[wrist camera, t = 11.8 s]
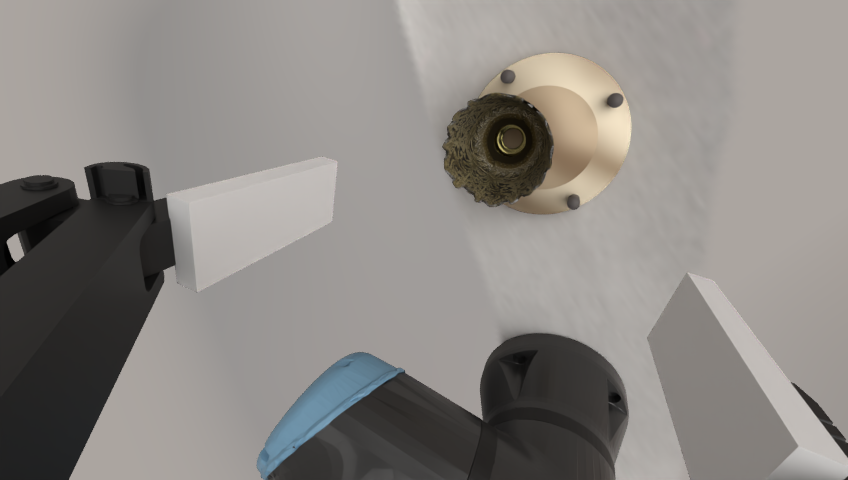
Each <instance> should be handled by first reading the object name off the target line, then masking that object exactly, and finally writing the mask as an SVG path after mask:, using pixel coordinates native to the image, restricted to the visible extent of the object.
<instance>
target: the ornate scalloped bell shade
mask: <svg viewBox="0 0 848 480" xmlns="http://www.w3.org/2000/svg"><path fill="white" fill-rule="evenodd" d="M452 120H453V121H452V122H451V124H450V125H449V126H448V127H447V131H448V134H447V135H448V136H449V138H448V139H447V140H445V142H444V144H443V146H442V147H443V149H444V150H446V156H445V158H444V169H445V171H446V172H447V174H448V175H449V176H450V177H451V178H452V179H453V182H452V183H453V185H454V186H455V187H456V188H458V189H460V188H465V189H466V190H467V192H468V193H469V194H472V195H474V197H475V199H474V200H475V201H476V202H478V203H480V202H484V203H485V204H486V205H487V206H489V207H497V206H499V205H501V204H503V203H506V202H509V204H511V205H512V204H514V203H516V202H517V201H518V200H519V198H520V197H521V196H523V197H525V196H529V195H531V194H532V193H533V191H534V190H536V188H538V187H539V186H540V185H541V184H542V183H543V181H544V179H545V176H546V173H547V171H548V170H550V169H551V166H552V156H553V151H554V139H553V136H552V133H551V130H550V127H549V125H548V122H547V120H546V118H545V116H544V115H543V114H542V113H541V112H540V111H539V110H538V109H537V108H535V107H534V106H533V105H532V104H530V103H529V102H527V101H526V100H524V98H522V97H519V96H516V95H510V94H505V93H490V94H487V95H484V96H483V97H481V98H479V99H473V100H471V101H469V102H468V106H467V108H464V109H461V110H459V111H458V112H457V113H456V114H455V115H454V116H453V118H452ZM510 129H517V130H519V131H520V132H521V134H522V137H523V139H522V143H521V144H520V145H519V146H518V147H517V148H508V147H507V146H506V145H505V144H504V142H503V136H504V134H505V132H506V131H508V130H510Z"/></svg>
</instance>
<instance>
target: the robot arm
mask: <svg viewBox="0 0 848 480" xmlns="http://www.w3.org/2000/svg"><path fill="white" fill-rule="evenodd" d="M337 165H338V162H337V161H335V160H332V159H329V158H326V157H323V156H322V157H317V158H313V159H309V160H305V161H301V162H297V163H293V164H289V165H284V166H280V167H276V168H272V169H268V170H264V171H260V172H256V173H251V174H247V175H244V176H239V177H235V178H231V179H227V180H223V181H219V182H215V183H210V184H206V185H202V186H198V187H194V188H190V189H186V190H182V191H177V192H173V193H169V194H167V195H166V196H167V198H163V199H159V200H156V201H154V200H153V193H152V185H151V178H150V172H149V169H148V168H147V167H145V166H143V165H139V164H134V163H127V162H105V163H98V164H93V165H89V166H87V167H85V168H84V169H85V173H86V178H87V182H88V187H89V191H90V196H91V199H90V200H84V199H79V198H78V197H77V193H76V189H75V184H74V182H73V181H71V180H69V179H64V178H59V177H51V176H48V175H43V176H41V175H40V176H39V175H37V176H30V177H26V178H21V179H17V180H13V181H9V182H6V183H4V184H0V480H69V478H70V476H71V474H72V472H73V470H74V467H75V466H76V463H77V461H78V459H79V457H80V455H81V453H82V451H83V449H84V447H85V444H86V443H87V441H88V439H89V437H90V434H91V432H92V430H93V428H94V426H95V424H96V422H97V420H98V418H99V416H100V414H101V411H102V409H103V407H104V405H105V403H106V401H107V399H108V397H109V395H110V393H111V391H112V389H113V387H114V385H115V383H116V381H117V378H118V376H119V374H120V372H121V370H122V368H123V366H124V364H125V362H126V360H127V358H128V356H129V354H130V352H131V349H132V347H133V345H134V343H135V341H136V339H137V337H138V335H139V333H140V331H141V329H142V327H143V325H144V323H145V320H146V318H147V316H148V314H149V312H150V310H151V308H152V306H153V304H154V302H155V299H156V297H157V295H158V293H159V291H160V289H161V287H162V285H163V283H164V272H163V270H165V269H167V268H169V267H171V266H174V265H175V270H176V279H177V283H178V284H180V285H182V286H184V287H186V288H188V289H191V290H193V291H195V292H199V291H201V290H203V289H205V288H207V287H209V286H211V285H212V284H214V283H216V282H218V281H220V280H222V279H224V278H226V277H228V276H230V275H232V274H233V273H235V272H237V271H239V270H241V269H243V268H245V267H247V266H249V265H251V264H253V263H255V262H256V261H258V260H260V259H262V258H264V257H266V256H268V255H270V254H272V253H274V252H276V251H277V250H279V249H281V248H283V247H285V246H287V245H289V244H291V243H293V242H294V241H297V240H298V239H300V238H302V237H304V236H306V235H308V234H310V233H312V232H314V231H316V230H317V229H319V228H321V227H323V226H325V225H327V224H329V223H331V222H332V218H333V207H334V196H335V185H336V175H337ZM16 233H18V237H19V240H20V243H21V246H22V249H23V252H24V255H25V256H24V257H23V258H21V259H20V260H19V261H17V262H15V261H14V260H13V259H12V257H11V254H10V251H9V248H8V245H7V240H8V239H9V238H10V237H12V236H13V235H14V234H16ZM647 339H648V342H649V345H650V349H651V352H652V355H653V358H654V362H655V365H656V368H657V372H658V375H659V378H660V381H661V385H662V388H663V391H664V395H665V398H666V401H667V404H668V408H669V411H670V414H671V418H672V421H673V424H674V428H675V431H676V434H677V437H678V441H679V444H680V447H681V451H682V454H683V457H684V460H685V464H686V467H687V470H688V474H689V477H690V480H848V443H846V442H845V440H846V439H845V438H844V436H843V435H842V434H841V432H840V431H839V430H838V429H837V427H835V426H833V425H832V424H833V422H832V421H831V420H830V419H829V417H828V416H827V415H826V414H825V412H824V411H823V410H822V408H821V407H820V406H819V405H818V403H816V402H815V401H814V400H813V399H812V398H811V397H809V396H808V395H807V394H806V393H805V392H804V391H803V390H801V389H800V388H799V387H798V386H797V385H795V384H794V383H792V382H790V381H789V380H788V379H787V377H786V376H785V374H784V373H783V372H782V371H781V369H780V368H779V367H778V365H777V364H776V363H775V361H774V360H773V359H772V357H771V356H770V355H769V353H768V352H767V351H766V349H765V348H764V347H763V345H762V344H761V343H760V341H759V340H758V339H757V337H756V336H755V335H754V333H753V332H752V331H751V329H750V328H749V327H748V325H747V324H746V323H745V322H744V320H743V319H742V318H741V316H740V315H739V314H738V312H737V311H736V310H735V308H734V307H733V306H732V304H731V303H730V302H729V300H728V299H727V298H726V296H725V295H724V294H723V292H722V291H721V290H720V288H719V287H718V286H717V284H716V283H715V282H714V281H713V280H710V279H707V278H704V277H701V276H698V275H695V274H691V273H688V272H687V273H686V275H685V276H684V278H683V280H682V281H681V283H680V284H679V286H678V288H677V289H676V291H675V293H674V294H673V296H672V298H671V299H670V301H669V303H668V304H667V306H666V308H665V309H664V311H663V312H662V314H661V316H660V317H659V319H658V321H657V322H656V324H655V326H654V327H653V329H652V331H651V332H650V334H649V336H648V337H647ZM480 395H481V405H482V415H483V420H481V419H480V418H478V417H476V416H475V415H473V414H472V413H470V412H468V411H467V410H465V409H463V408H462V407H460V406H458V405H457V404H455V403H453V402H452V401H450V400H449V399H447V398H445V397H443V396H442V395H440V394H439V393H437V392H435V391H434V390H432V389H431V388H428V387H427V386H426V385H424V384H422V383H421V382H419V381H417V380H416V379H414V378H412V377H411V376H409V375H407V374H406V373H405V370H403V369H402V368H395V367H394V366H392V365H390V364H388V363H386V362H384V361H382V360H381V359H379V358H377V357H375V356H373V355H371V354H368V353H364V352H358V353H353V354H350V355H348V356H346V357H344V358H342V359H340V360H339V361H337V362H336V363H335V364H333V365H332V366H331V367H330V368H328V369H327V370H326V371H325V372H324V373H323V374H322V375H321V376H319V378H317V379H316V380H315V381H314V382H313V383H312V384H311V385H310V386H309V387H308V389H306V391H305V392H304V393H303V394H302V395H301V396H300V397H299V398H298V399H297V401H296V402H295V403H294V404H293V406H292V407H291V408H290V409H289V410H288V411H287V413H286V414H285V415H284V417H283V418H282V419H281V420H280V422H279V423H278V424H277V426H276V427H275V428H274V430H273V431H272V433H271V434H270V436H269V437H268V439H267V441H266V443H265V447H264V449H263V450H262V451H261V452H260V454H259V457H258V460H257V469H258V470H259V472H260V473H261V478H263V479H264V480H615V468H614V464H615V461H616V458H617V455H618V452H619V450H620V447H621V444H622V441H623V438H624V435H625V432H626V429H627V425H628V417H629V411H628V403H627V397H626V391H625V387H624V384H623V382H622V380H621V378H620V376H619V375H618V373H617V372H616V370H615V369H614V368H613V366H612V365H611V364H610V363H609V362H608V361H607V360H606V359H605V358H603V357H602V356H601V355H600V354H598V353H597V352H596V351H594V350H593V349H591V348H589V347H587V346H586V345H584V344H582V343H579V342H577V341H574V340H572V339H569V338H565V337H561V336H557V335H550V334H529V335H523V336H519V337H515V338H513V339H510V340H508V341H506V342H504V343H503V344H501V345H500V346H499V347H497V348H496V349H495V350H494V351H493V352H492V354H491V355H490V357H489V358H488V360H487V362H486V365H485V368H484V371H483V375H482V378H481V384H480Z"/></svg>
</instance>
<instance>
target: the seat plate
mask: <svg viewBox="0 0 848 480" xmlns="http://www.w3.org/2000/svg"><path fill="white" fill-rule="evenodd" d="M490 93H505V94H510V95H516V96H519V97H522V98H524V100H526V101H527V102H529V103H530V104H532V105H533V106H534V107H535V108H537V109H538V110H539V111H540V112H541V113H542V114H543V115H544V116H545V118H546V120H547V122H548V125H549V127H550V130H551V133H552V136H553V139H554V151H553V156H552V166H551V169H550V170H548V171H547V173H546V176H545V179H544V181H543V183H542V184H541V185H540V186H539V187H538V188H536V190H534V191H533V193H532V194H531V195H529V196H525V197H523V196H521V197H520V198H519V200H518V201H517V202H516V203H514V204H512V205H511V204H509V202H506V203H503V204H504V205H506V206H508V207H510V208H513V209H515V210H518V211H522V212H526V213H532V214H553V213H560V212H564V211H568V210H570V209H572V210H575V209H577V208H578V207H579V206H580V205H582V204H584V203H586V202H588V201H589V200H591V199H592V198H594V197H595V196H597V195H598V194H599V193H600V192H601V191H602V190H604V189H605V188H606V187H607V185H608V184H609V183H610V182H611V181H612V180H613V178H614V177H615V176H616V174H617V173H618V171H619V169H620V168H621V166H622V164H623V162H624V160H625V157H626V154H627V152H628V148H629V143H630V139H631V116H630V111H629V106H628V103H627V101H626V98H625V96H624V93H623V92H622V90H621V88H620V87H619V85H618V84H617V82H616V81H615V80H614V79H613V77H612V76H611V75H610V74H609V73H607V72H606V71H605V70H604V69H603V68H602V67H600V66H598V65H597V64H595V63H594V62H592V61H590V60H587V59H585V58H583V57H579V56H576V55H572V54H565V53H546V54H539V55H535V56H531V57H528V58H525V59H523V60H520V61H518V62H516V63H514V64H512V65H511V66H509V67H508V68H506V69H504V70H503V71H502V72H501V73H499V74H498V75H497V76H496V77H495V78H494V79H493V80H492V81H491V82H490V83H489V84H488V85H487V86H486V88H485V89H484V90H483V92H482V93H481V95H480V96H479V98H481V97H483V96H484V95H487V94H490ZM479 98H478V99H479ZM522 139H523V137H522V134H521V132H520V131H519V130H517V129H510V130H508V131H506V132H505V134H504V136H503V142H504V144H505V145H506V146H507V147H508V148H517V147H518V146H519V145H520V144H521V143H522Z"/></svg>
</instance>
